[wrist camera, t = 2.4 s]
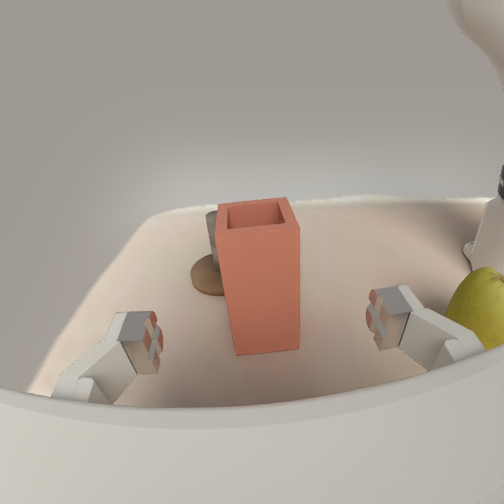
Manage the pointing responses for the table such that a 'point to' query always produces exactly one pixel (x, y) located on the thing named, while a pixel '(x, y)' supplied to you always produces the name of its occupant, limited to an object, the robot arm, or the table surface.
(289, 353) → the table surface
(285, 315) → the red square vase
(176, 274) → the table surface
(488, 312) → the apple
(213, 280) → the shaft post
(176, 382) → the table surface
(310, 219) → the table surface
